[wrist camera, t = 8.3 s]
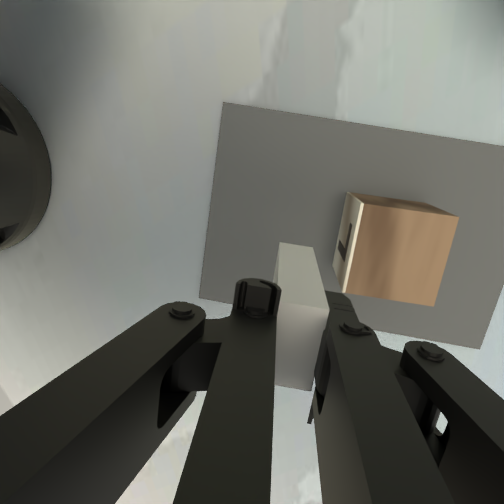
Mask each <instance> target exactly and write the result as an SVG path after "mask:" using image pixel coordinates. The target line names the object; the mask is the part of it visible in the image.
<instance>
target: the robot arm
mask: <svg viewBox="0 0 504 504" xmlns="http://www.w3.org/2000/svg"><path fill="white" fill-rule="evenodd" d="M50 189H51V170H50V162H49V157H48V153H47V149H46V146H45V143H44V140H43V138H42V136H41V133H40V131H39V129H38V127H37V125H36V124H35V122H34V120H33V119H32V117H31V116H30V114H29V113H28V111H27V110H26V109H25V107H24V106H23V105H22V104H21V103H20V102H19V100H18V99H17V98H16V97H15V96H14V95H13V94H12V93H10V92H9V91H8V90H7V89H6V88H4V87H3V86H2V85H0V250H3V249H6V248H8V247H11V246H13V245H15V244H17V243H19V242H20V241H22V240H23V239H24V238H26V237H27V236H28V235H29V234H30V233H31V232H32V231H33V230H34V229H35V228H36V226H37V225H38V223H39V222H40V220H41V218H42V217H43V214H44V212H45V210H46V207H47V204H48V200H49V196H50ZM205 318H206V314H205V311H204V310H203V309H202V308H201V307H199V306H197V305H194V304H190V303H187V302H180V301H179V302H173V303H167V304H165V305H163V306H161V307H159V308H158V309H156V310H155V311H153V312H152V313H150V314H149V315H147V316H146V317H144V318H143V319H142V320H140V321H139V322H137V323H136V324H134V325H133V326H131V327H130V328H128V329H127V330H125V331H124V332H122V333H121V334H120V335H118V336H117V337H115V338H114V339H112V340H111V341H109V342H108V343H106V344H105V345H103V346H102V347H101V348H99V349H98V350H96V351H95V352H93V353H92V354H90V355H89V356H87V357H86V358H84V359H83V360H81V361H80V362H79V363H77V364H76V365H74V366H73V367H71V368H70V369H68V370H67V371H65V372H64V373H62V374H61V375H60V376H58V377H57V378H55V379H54V380H52V381H51V382H49V383H48V384H46V385H45V386H43V387H42V388H40V389H39V390H38V391H36V392H35V393H33V394H32V395H30V396H29V397H27V398H26V399H24V400H23V401H21V402H20V403H19V404H17V405H16V406H14V407H13V408H11V409H10V410H8V411H7V412H5V413H4V414H2V415H1V416H0V504H115V503H116V501H117V500H118V499H119V498H120V496H121V495H122V494H123V492H124V491H125V490H126V488H127V487H128V486H129V484H130V483H131V482H132V481H133V479H134V478H135V477H136V475H137V474H138V473H139V471H140V470H141V469H142V468H143V466H144V465H145V464H146V462H147V461H148V460H149V458H150V457H151V456H152V454H153V453H154V452H155V451H156V449H157V448H158V447H159V445H160V444H161V443H162V441H163V440H164V439H165V437H166V436H167V435H168V434H169V432H170V431H171V430H172V428H173V427H174V426H175V424H176V423H177V422H178V420H179V419H180V418H181V417H182V415H183V414H184V413H185V411H186V410H187V409H188V407H189V406H190V405H191V403H192V402H193V401H194V399H195V396H196V392H197V391H207V393H206V397H205V400H204V403H203V406H202V410H201V413H200V416H199V419H198V423H197V426H196V429H195V432H194V436H193V439H192V442H191V446H190V449H189V452H188V455H187V459H186V462H185V465H184V468H183V472H182V475H181V478H180V482H179V485H178V488H177V491H176V495H175V498H174V501H173V504H270V491H271V464H272V437H273V410H274V385H278V386H284V387H289V388H295V389H301V390H306V391H311V390H312V385H313V381H314V376H315V384H316V387H315V391H314V396H313V400H312V404H311V409H310V413H309V417H308V422H307V423H308V424H311V422H312V419H313V418H314V424H315V434H316V443H317V453H318V463H319V473H320V483H321V493H322V502H323V504H504V400H503V399H502V398H501V397H500V396H499V395H498V394H496V393H495V392H494V391H493V390H492V389H491V388H489V387H488V386H487V385H486V384H485V383H484V382H483V381H481V380H480V379H479V378H478V377H477V376H476V375H475V374H473V373H472V372H471V371H470V370H469V369H468V368H467V367H465V366H464V365H463V364H462V363H461V362H460V361H458V360H457V359H456V358H455V357H454V356H453V355H452V354H450V353H449V352H447V351H446V350H444V349H442V348H440V347H438V346H437V345H436V344H433V343H431V344H430V342H426V341H423V342H421V341H409V342H407V343H406V344H405V346H404V350H403V353H401V352H398V351H395V350H392V349H389V348H387V347H384V346H381V344H380V342H379V340H378V338H377V336H376V334H375V332H374V331H373V330H372V329H371V328H370V327H369V326H367V325H365V324H363V323H361V322H359V319H358V317H357V315H356V313H355V310H354V307H353V305H352V303H351V300H350V299H349V298H348V297H346V296H345V295H344V294H343V293H338V292H332V291H326V290H324V287H323V283H322V280H321V276H320V272H319V269H318V265H317V261H316V257H315V254H314V250H313V247H307V246H301V245H295V244H288V243H282V242H280V243H279V249H278V255H277V261H276V266H275V272H274V278H273V282H270V281H268V280H263V279H258V278H244V279H241V280H238V281H237V282H236V286H235V293H234V300H233V307H232V311H231V315H230V316H228V317H225V318H221V319H205ZM440 412H442V413H443V414H444V416H445V417H446V419H447V421H448V423H447V426H446V429H445V431H444V433H443V434H442V433H441V432H440V431H439V430H438V429H437V428H436V427H435V426H436V423H437V421H438V418H439V415H440Z"/></svg>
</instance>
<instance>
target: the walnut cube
mask: <svg viewBox="0 0 504 504" xmlns="http://www.w3.org/2000/svg"><path fill="white" fill-rule="evenodd" d="M458 220H459V217H458V216H456V215H453V214H451V213H449V212H446V211H444V210H441V209H439V208H437V207H434V206H432V205H430V204H427V203H423V202H416V201H409V200H402V199H394V198H387V197H380V196H373V195H366V194H359V193H351V192H347V194H346V199H345V204H344V209H343V214H342V219H341V224H340V229H339V234H338V239H337V244H336V249H335V254H334V259H333V264H332V266H333V268H334V271H335V274H336V277H337V280H338V282H339V285H340V288H341V291H342V293H349V294H355V295H362V296H368V297H375V298H381V299H388V300H394V301H401V302H407V303H414V304H420V305H426V306H433V307H434V304H435V301H436V297H437V294H438V290H439V287H440V283H441V280H442V276H443V273H444V269H445V266H446V262H447V259H448V255H449V252H450V248H451V245H452V241H453V238H454V234H455V231H456V227H457V224H458Z"/></svg>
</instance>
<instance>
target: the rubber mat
mask: <svg viewBox="0 0 504 504" xmlns="http://www.w3.org/2000/svg"><path fill="white" fill-rule="evenodd" d="M347 192H351V193H359V194H366V195H373V196H380V197H387V198H394V199H402V200H409V201H416V202H423V203H427V204H430V205H432V206H434V207H437V208H439V209H441V210H444V211H446V212H449V213H451V214H453V215H456V216H458V217H459V220H458V224H457V227H456V231H455V234H454V238H453V241H452V245H451V248H450V252H449V255H448V259H447V262H446V266H445V269H444V273H443V276H442V280H441V283H440V287H439V290H438V294H437V297H436V301H435V304H434V307H433V306H426V305H420V304H414V303H407V302H401V301H394V300H388V299H381V298H375V297H368V296H362V295H355V294H349V293H343V294H344V295H345V296H346V297H348V298H349V299H350V300H351V303H352V305H353V307H354V310H355V313H356V315H357V317H358V319H359V322H361V323H363V324H365V325H367V326H369V327H370V328H371V329H372V330H377V331H382V332H388V333H393V334H399V335H404V336H409V337H415V338H420V339H426V340H431V341H437V342H442V343H448V344H453V345H459V346H464V347H469V348H475V349H480V347H481V345H482V342H483V339H484V337H485V334H486V331H487V328H488V326H489V323H490V320H491V317H492V315H493V312H494V309H495V307H496V304H497V301H498V298H499V296H500V293H501V290H502V288H503V285H504V146H498V145H492V144H486V143H479V142H473V141H467V140H460V139H454V138H447V137H441V136H435V135H428V134H422V133H416V132H409V131H403V130H397V129H390V128H384V127H378V126H371V125H365V124H359V123H352V122H346V121H340V120H333V119H327V118H321V117H314V116H308V115H302V114H295V113H289V112H282V111H276V110H270V109H263V108H257V107H251V106H244V105H238V104H232V103H225V102H223V109H222V117H221V125H220V133H219V141H218V149H217V157H216V165H215V173H214V181H213V189H212V197H211V205H210V213H209V221H208V229H207V237H206V245H205V253H204V261H203V269H202V277H201V285H200V293H199V298H202V299H208V300H213V301H219V302H224V303H229V304H233V300H234V293H235V286H236V282H237V281H238V280H241V279H244V278H258V279H263V280H268V281H270V282H273V278H274V272H275V266H276V261H277V255H278V249H279V243H280V242H282V243H288V244H295V245H301V246H307V247H313V250H314V254H315V257H316V261H317V265H318V269H319V272H320V276H321V280H322V283H323V287H324V290H326V291H332V292H338V293H342V291H341V288H340V285H339V282H338V280H337V277H336V274H335V271H334V268H333V266H332V264H333V259H334V254H335V249H336V244H337V239H338V234H339V229H340V224H341V219H342V214H343V209H344V204H345V199H346V194H347Z"/></svg>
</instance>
